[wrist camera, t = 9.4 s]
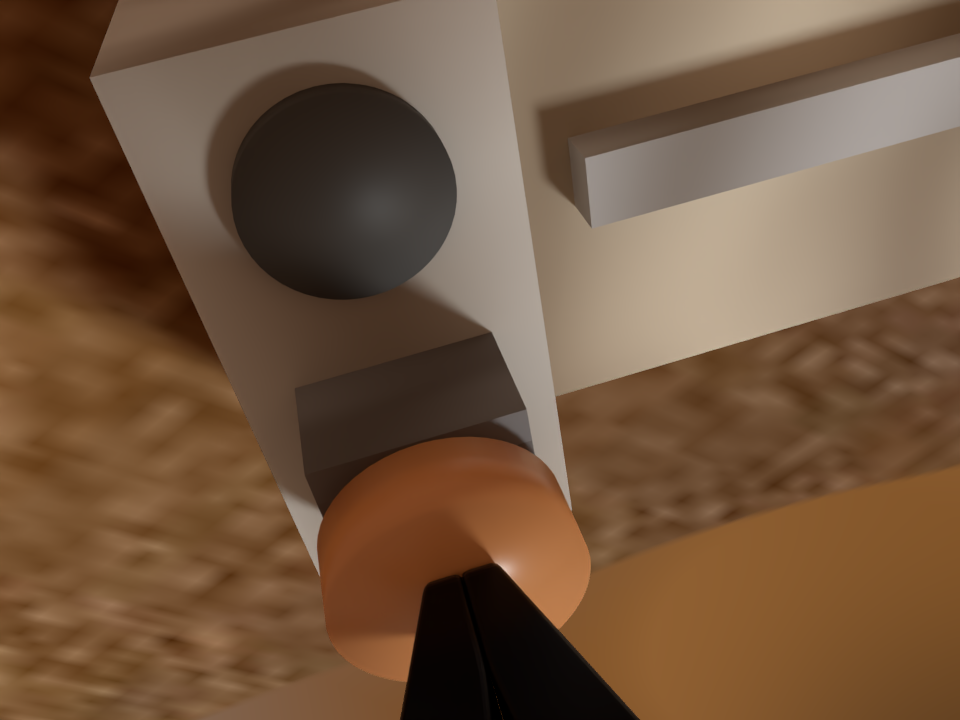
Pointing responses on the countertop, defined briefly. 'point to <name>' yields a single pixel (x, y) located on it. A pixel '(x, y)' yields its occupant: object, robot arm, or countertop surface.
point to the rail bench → (728, 229)
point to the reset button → (442, 542)
